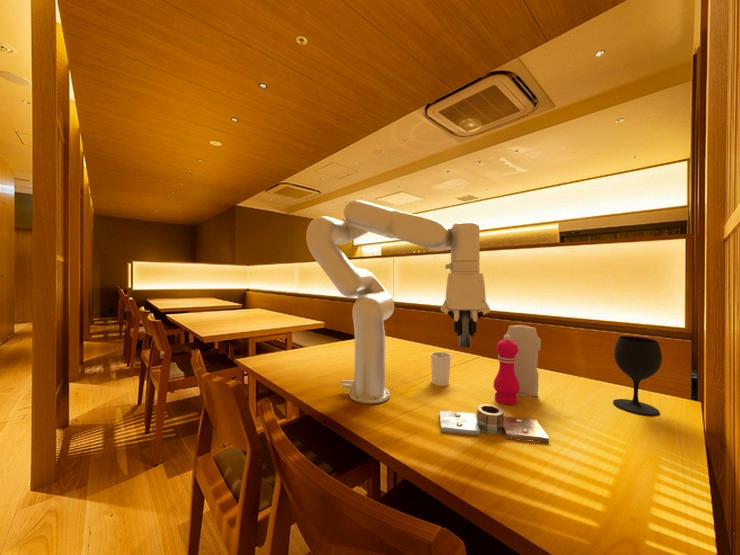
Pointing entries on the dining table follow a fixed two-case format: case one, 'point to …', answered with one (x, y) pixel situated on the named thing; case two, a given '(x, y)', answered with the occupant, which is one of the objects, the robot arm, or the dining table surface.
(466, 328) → the hinge pin
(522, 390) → the beige upright panel
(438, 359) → the paper coffee cup
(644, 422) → the dining table surface
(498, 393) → the pepper mill
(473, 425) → the hinge
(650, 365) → the wine glass
